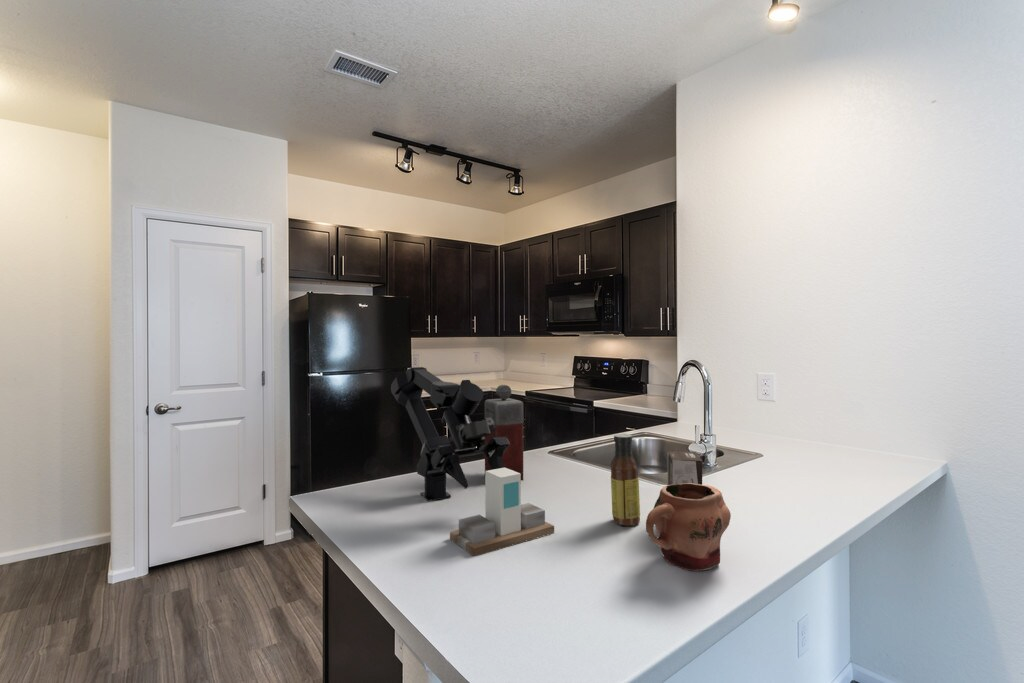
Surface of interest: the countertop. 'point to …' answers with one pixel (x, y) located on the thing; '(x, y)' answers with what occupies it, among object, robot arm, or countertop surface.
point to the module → (503, 500)
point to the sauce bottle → (624, 483)
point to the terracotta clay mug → (689, 525)
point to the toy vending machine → (506, 427)
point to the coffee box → (684, 468)
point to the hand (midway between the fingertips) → (484, 483)
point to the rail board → (482, 538)
